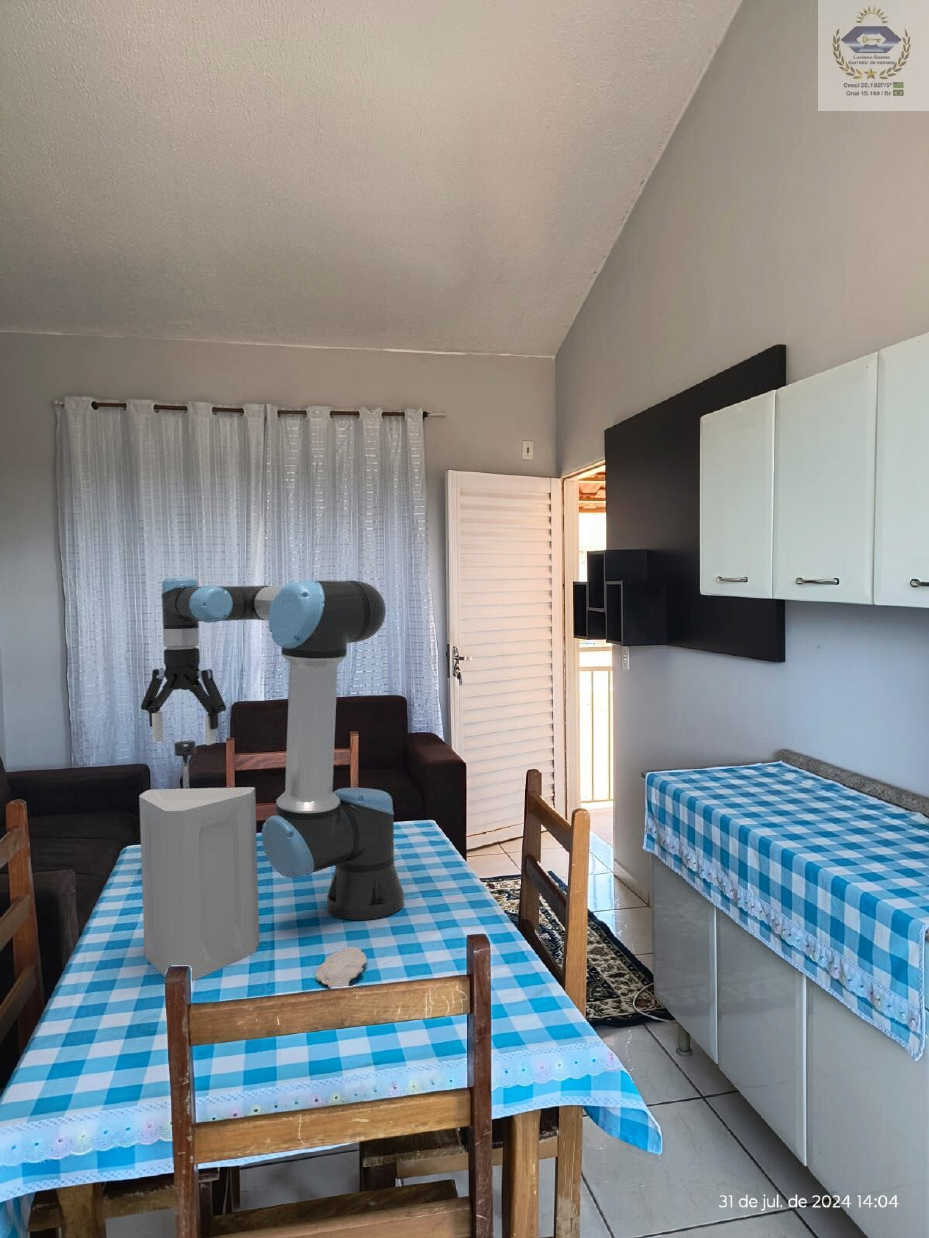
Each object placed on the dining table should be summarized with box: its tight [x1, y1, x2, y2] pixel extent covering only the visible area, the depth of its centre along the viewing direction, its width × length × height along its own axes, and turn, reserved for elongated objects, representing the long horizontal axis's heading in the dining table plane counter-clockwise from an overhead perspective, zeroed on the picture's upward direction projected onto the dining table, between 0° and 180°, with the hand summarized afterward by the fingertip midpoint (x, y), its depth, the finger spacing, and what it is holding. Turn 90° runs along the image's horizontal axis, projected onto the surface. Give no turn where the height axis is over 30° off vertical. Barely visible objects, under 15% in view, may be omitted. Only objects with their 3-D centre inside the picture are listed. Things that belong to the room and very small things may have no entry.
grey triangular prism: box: [138, 786, 260, 982], centre depth 138 cm, size 19×15×28 cm
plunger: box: [173, 740, 197, 789], centre depth 182 cm, size 9×9×19 cm
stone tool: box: [314, 946, 368, 989], centre depth 133 cm, size 8×3×15 cm
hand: (184, 742), depth 182 cm, fingers open, 13 cm apart
